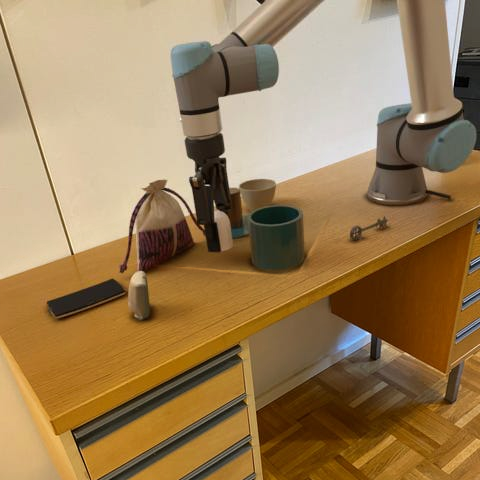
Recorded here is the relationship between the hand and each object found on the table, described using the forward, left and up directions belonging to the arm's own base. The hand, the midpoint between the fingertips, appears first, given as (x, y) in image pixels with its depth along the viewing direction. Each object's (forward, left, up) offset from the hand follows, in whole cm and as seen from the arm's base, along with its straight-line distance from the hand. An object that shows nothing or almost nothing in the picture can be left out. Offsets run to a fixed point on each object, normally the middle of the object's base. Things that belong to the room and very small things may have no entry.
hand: (220, 244), depth 106 cm
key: (-29, -20, -5) cm, 35 cm away
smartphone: (+22, +20, -5) cm, 30 cm away
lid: (+4, -19, -4) cm, 20 cm away
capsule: (0, 0, 0) cm, 1 cm away
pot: (-12, -4, -5) cm, 13 cm away
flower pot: (+2, -33, -5) cm, 33 cm away
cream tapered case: (+7, +22, -5) cm, 24 cm away
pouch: (+14, -1, -5) cm, 15 cm away
